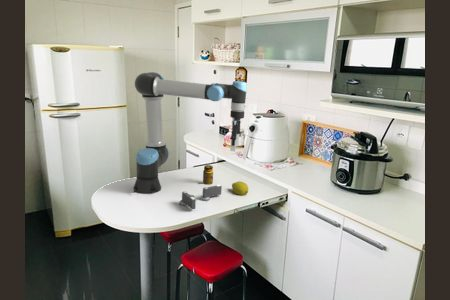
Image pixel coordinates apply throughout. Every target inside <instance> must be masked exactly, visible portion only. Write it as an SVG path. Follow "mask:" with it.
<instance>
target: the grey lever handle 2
mask: <svg viewBox="0 0 450 300" xmlns="http://www.w3.org/2000/svg"><path fill="white" fill-rule="evenodd" d="M222 186H223V185H221V184H217V185H211V186H207V187H203V188H202V195H201V196H200V200H201V201H202V202H203V201H204V202H208V201H210V200H211V198H212V197H215V196H220V195H222V190H223V189H222Z"/></svg>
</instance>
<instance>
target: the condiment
mask: <svg viewBox="0 0 450 300" xmlns="http://www.w3.org/2000/svg"><path fill="white" fill-rule="evenodd" d="M203 168H204V169H203V171H202V172H203V173H202V174H203V175H202V182H198V183H197V185H202V184H204V185H206V186H207V185H213V182H214V166H213V165H209V164H206V165H204V167H203Z"/></svg>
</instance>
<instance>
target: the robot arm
mask: <svg viewBox="0 0 450 300" xmlns="http://www.w3.org/2000/svg"><path fill="white" fill-rule="evenodd" d="M134 88H135V90H136V91H137V92H138V93H139V94H141V97H142V99H143V100H144V101H145V114H146V115H145V116H146V128H147V142H146V143H145V148H141V149H140V150H138V151H137V152H136V157H135V161H136V164H135V165H136V178H135V182H134V184H133V185H134V186H133V193H137V194H142V195H151V194H155V193H156V194H157V193H158V192H161V190H162V185H161V182H160V179H159V168H160V167H161V166H162V165H164V164H165V163H166V162H167V160H168V159H169V156H170V152H169V149H168V147H167V145H166V144H167V143H166V142H165V141H164V135H163V132H164V131H163V117H162V112H163V111H162V99H163V98H164V95H165V96H174V97H182V98H190V99H191V98H193V99H201V100H207V101H211V102H219V101H221V100H222V99H229V100H231V103H230V115H229V116H230V118H232V119H234V120H232V129H231V137H229V140H230V152H236V149H237V148H236V147H237V146H239V144H240V143H239V142H240V135H241V134H242V132H241V123H242V122H241V121H242V120H241V119H244V118H245V109H246V108H247V105H246V100H247V99H246V98H247V97H246V96H247V82H246V81H237V80H235V81H232V84H227V83H225V84H224V83H217V82H216V83H215V82H212V83H211V84H207V83H198V82H197V83H196V82H189V81H179V80H169V79H165V78H164V76H163V75H161V73H158V72H154V71H152V72H141V73H140V74H138V75H137V76H136V78H135V79H134Z"/></svg>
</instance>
